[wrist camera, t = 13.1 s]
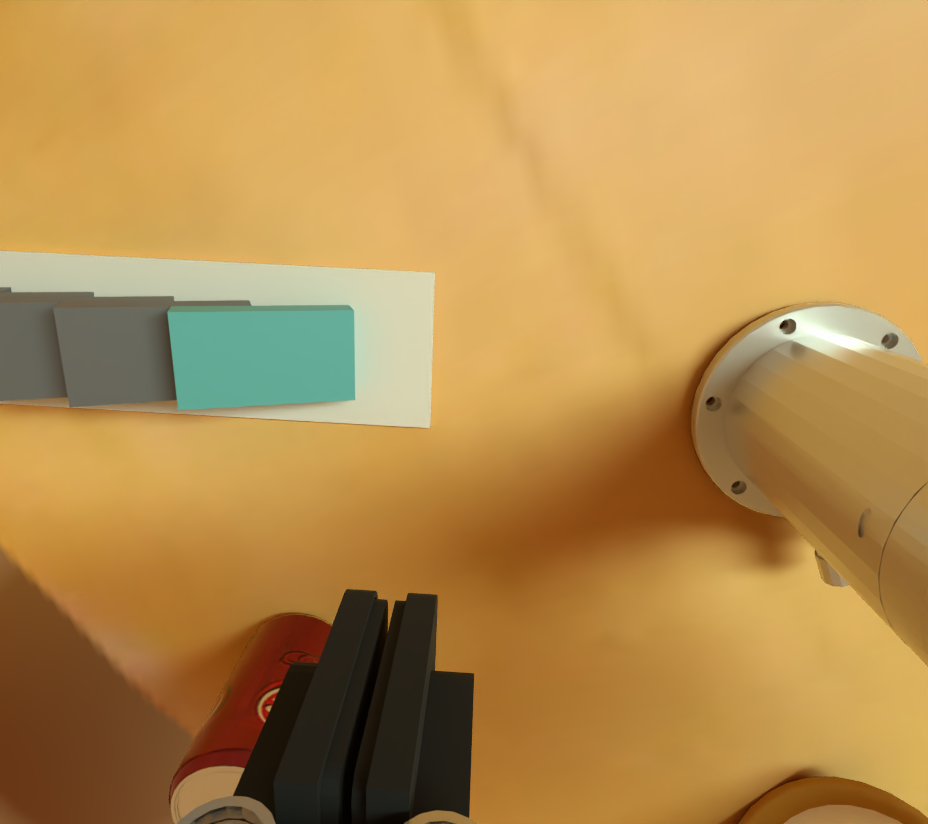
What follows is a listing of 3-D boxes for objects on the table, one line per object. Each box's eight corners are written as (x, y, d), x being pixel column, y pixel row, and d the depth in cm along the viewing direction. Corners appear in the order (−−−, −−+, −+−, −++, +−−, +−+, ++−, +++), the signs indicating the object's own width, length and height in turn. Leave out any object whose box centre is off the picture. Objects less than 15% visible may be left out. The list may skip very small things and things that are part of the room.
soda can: (336, 598, 41) (275, 750, 29) (369, 685, 43) (326, 857, 31) (235, 620, 42) (139, 775, 30) (273, 703, 44) (196, 878, 32)
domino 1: (172, 301, 33) (-34, 303, 30) (181, 390, 34) (-13, 401, 31) (173, 296, 34) (-22, 297, 31) (182, 381, 36) (-2, 391, 33)
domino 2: (251, 305, 33) (53, 308, 29) (257, 394, 34) (69, 407, 31) (248, 300, 34) (60, 302, 31) (254, 386, 36) (75, 397, 32)
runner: (434, 272, 34) (434, 272, 33) (430, 426, 36) (429, 428, 36) (-99, 245, 34) (-104, 245, 34) (-63, 398, 37) (-67, 400, 37)
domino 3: (354, 310, 32) (167, 312, 30) (355, 400, 34) (178, 410, 31) (348, 304, 34) (171, 306, 31) (350, 390, 36) (181, 399, 33)
